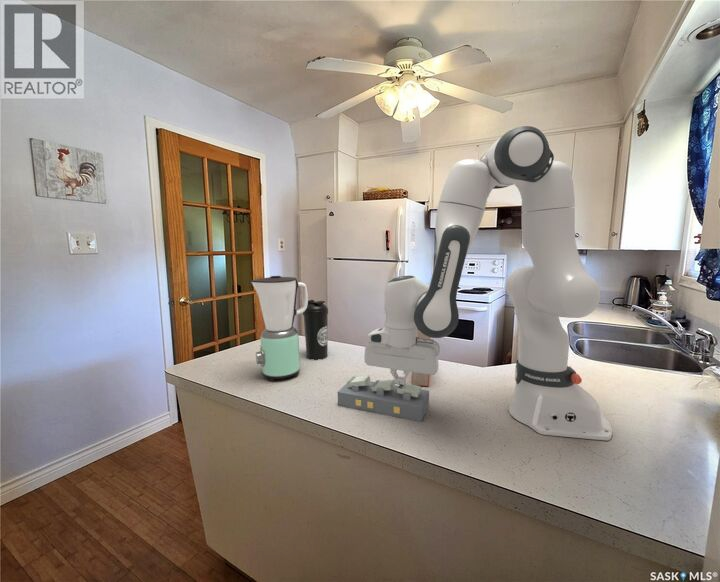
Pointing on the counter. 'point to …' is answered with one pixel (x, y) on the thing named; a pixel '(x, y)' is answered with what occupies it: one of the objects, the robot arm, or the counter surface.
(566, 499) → the counter surface
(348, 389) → the switch unit
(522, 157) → the robot arm
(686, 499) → the counter surface
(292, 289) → the blender
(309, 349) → the water bottle
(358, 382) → the switch
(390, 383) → the switch
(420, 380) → the cracker box
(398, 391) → the switch
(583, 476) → the counter surface
